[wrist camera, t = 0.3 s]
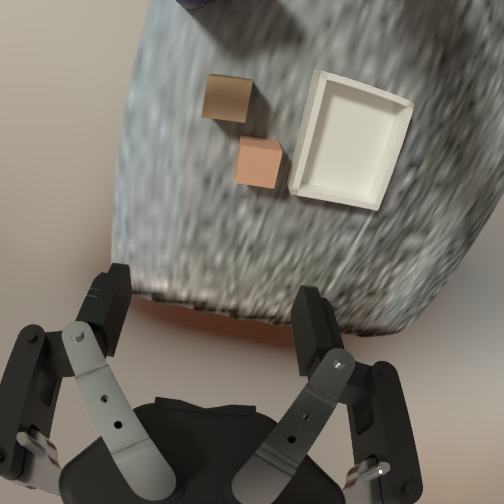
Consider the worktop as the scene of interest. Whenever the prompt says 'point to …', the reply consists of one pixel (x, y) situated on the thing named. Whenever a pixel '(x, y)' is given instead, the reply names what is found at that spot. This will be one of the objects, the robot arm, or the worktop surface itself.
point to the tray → (348, 141)
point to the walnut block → (227, 98)
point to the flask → (193, 3)
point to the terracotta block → (257, 161)
